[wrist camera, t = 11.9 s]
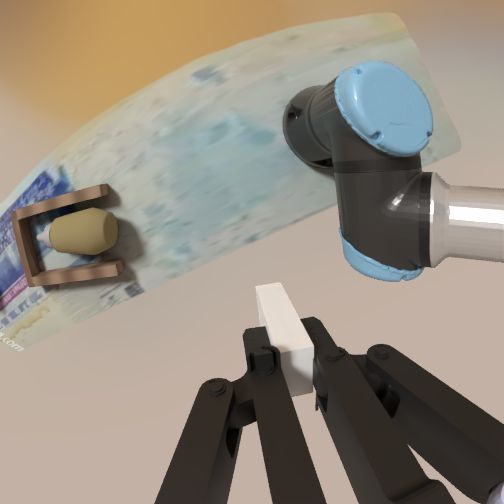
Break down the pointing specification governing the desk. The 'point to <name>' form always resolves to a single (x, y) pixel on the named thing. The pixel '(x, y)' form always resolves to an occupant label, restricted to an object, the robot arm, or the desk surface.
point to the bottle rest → (28, 251)
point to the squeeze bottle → (82, 232)
